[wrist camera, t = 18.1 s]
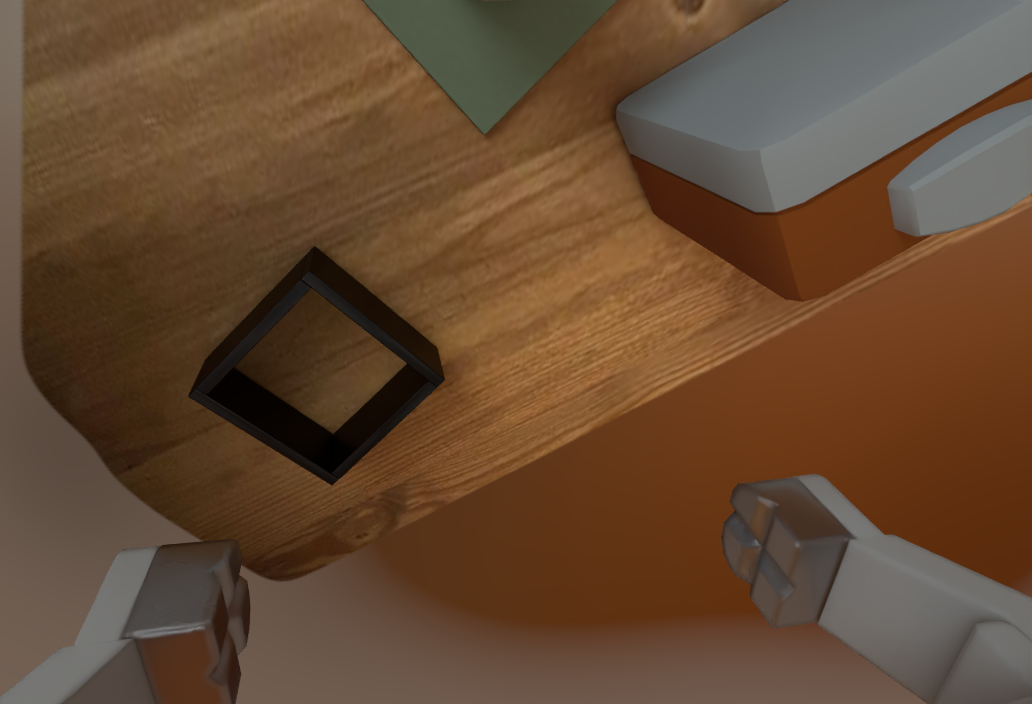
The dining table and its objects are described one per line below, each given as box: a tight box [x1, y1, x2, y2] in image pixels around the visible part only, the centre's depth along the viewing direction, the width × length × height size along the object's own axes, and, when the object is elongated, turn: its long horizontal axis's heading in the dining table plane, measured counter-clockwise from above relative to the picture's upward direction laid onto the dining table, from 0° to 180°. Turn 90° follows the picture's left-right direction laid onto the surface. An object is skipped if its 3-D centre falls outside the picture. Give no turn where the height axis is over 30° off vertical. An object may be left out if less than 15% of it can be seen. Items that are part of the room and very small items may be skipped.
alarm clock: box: [616, 0, 1032, 302], centre depth 35 cm, size 18×9×21 cm, turn 118°
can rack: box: [189, 246, 445, 485], centre depth 44 cm, size 12×12×5 cm
